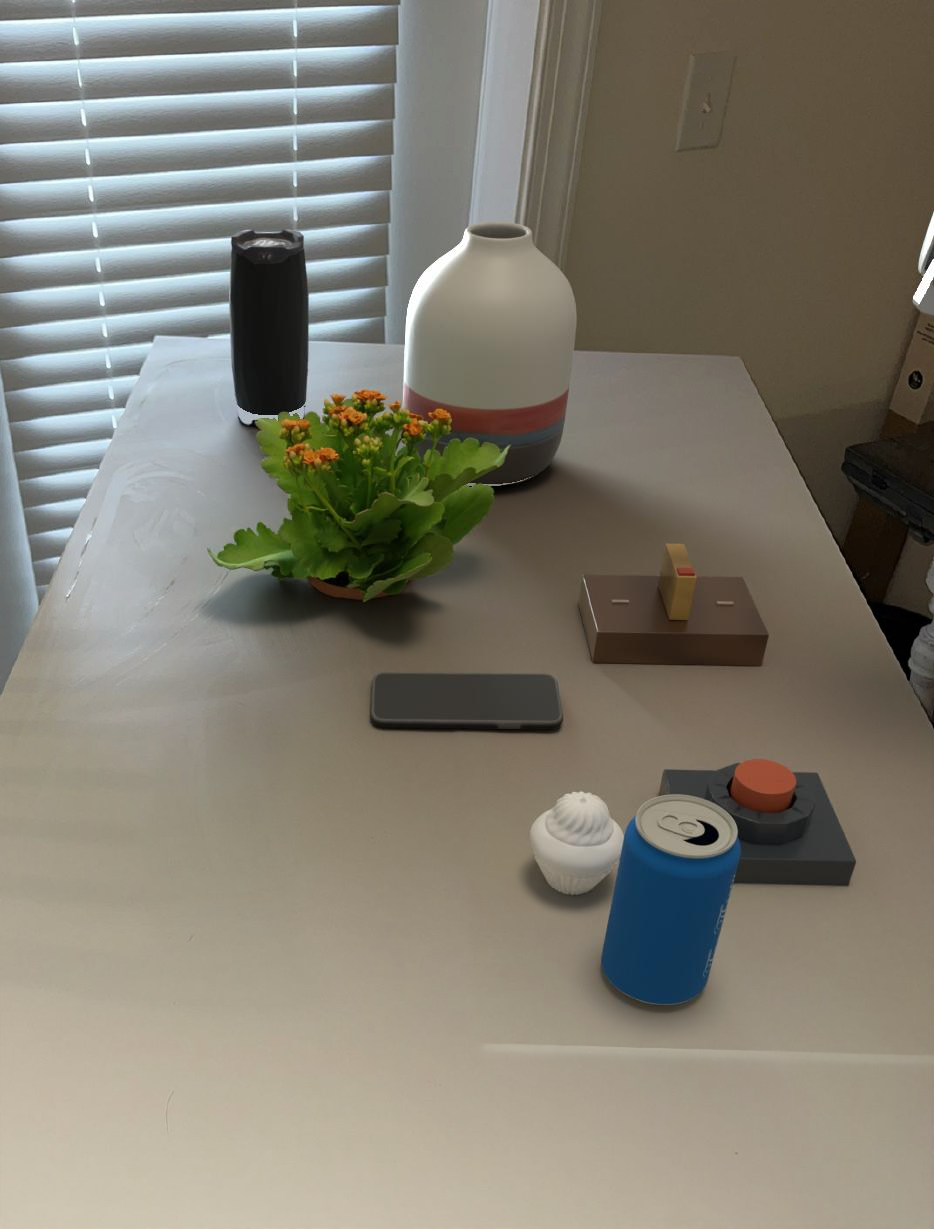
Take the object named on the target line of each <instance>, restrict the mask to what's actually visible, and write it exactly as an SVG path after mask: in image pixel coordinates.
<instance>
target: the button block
mask: <svg viewBox="0 0 934 1229" xmlns="http://www.w3.org/2000/svg"><path fill="white" fill-rule="evenodd" d="M741 763H742V762H735V763H732V764H730V765H727V766H724V767H721V768H718V769H715V770H714V769H713V770H712V769H711V770H710V769H709V770H708V769H671V768H669V769H668V768H667V769H665V768H664V769H663V770H662V776H661V781H660V785H659V790H658V796H663V795H671V794H679V795H689V796H694V797H698V798H702V799H705V800H707V801H710V802H712V803H714V804H716V805H718V806H719V807H721V808H722V809H724V810H725V811H726V812H727V813H729V815H730V816H731V817H732V818H733V820H734V821H735V823H736V825H737V830H738V834H737V837H738V839H739V842H740V847H741V854H740V859H739V862H738V866H737V870H736V874H735V878H734V882H733V884H755V885H756V884H759V885H760V884H761V885H797V886H800V885H803V886H841V887H842V886H843V887H844V886H846V887H848V886H849V885H850V882H851V879H852V876H853V873H854V870H855V867H856V864H857V859H856V857H855V855H854V852H853V850H852V848H851V845H850V844H849V841H848V838H847V836H846V834H845V832H844V830H843V827H842V825H841V823H840V821H839V818H838V815H837V813H836V812H835V809H834V807H833V804H832V803H831V800H830V797H829V796H828V793H827V791H826V788H825V787H824V784H823V782H822V779H821V777H820V775H819V773H818V772H816V771H815V772H813V771H810V772H807V771H804V772H803V771H792V772H793V774H794V775H795V778H796V786H795V789H794V793H793V796H792V800H791V803H790V806H789V807H788V808H787V809H786V810H784V811H782V812H779V813H760V812H756V811H753V810H750V809H747V808H744V807H742V806H740V805H739V804H738V803H737V802H735V801H734V800H733V799H732V797H731V794H730V790H731V786H732V782H733V777H734V773H735V769H736V767H737V766H738V765H739V764H741Z"/></svg>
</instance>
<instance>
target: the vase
mask: <svg viewBox="0 0 934 1229" xmlns="http://www.w3.org/2000/svg"><path fill="white" fill-rule="evenodd" d="M406 313H407V314H406V321H405V322H406V323H405V339H404V340H405V341H404V358H403V359H404V361H403V384H402V385H403V386H402V387H403V388H402V409H403V408H406V410H409V413H413V414H417V415H421V416H422V417H423V418H424V419H423V421H427V422H428V424H430V423H431V422H432V421H434V419H433V418H431V417H429V415H428V413H429V412H430V413H433V412H435V410H436V409H443V411H447V412H446V413H450V416H451V419H452V422H451V423H450V428H451V430H450V431H449V432H450V434H444V435H442V437H441V438H440V439H439V440H438V441H437V443H436V447H435V450H437V451H438V452H439V453H440V455H441V457H442V456H443V451H444V449H445V447H446V446H447V447H448V444H449V442H450V441H451V440H452V439H459V440H460V442H461V444H462V443H463V442H464V440H465V439H467V438H474V439H477V440H478V441H479V447H481V446H482V444H484V443H485V442H488V443H492V444H495V445H496V446H497V447H498V448H499V450H500V449H502V452H503V451H504V450H505V448H506V447H507V446H508V445H511V446H510V448H509V449H508V453H507V455H506V457H505V460H504V463H503V465H502V466H500V467H498V468H496V469H494V470H492V471H490V472H488V473H486V474H484V475H482V476H481V477H479V478H477V479H475V480H473V481H471V482H469V483H476V484H480V483H481V484H503V483H512V482H517V481H520V480H524V479H526V478H529V477H532V476H534V477H536V476H537V475H536V474H538V473H539V472H541V471H542V470H543V471H545V470H546V469H547V467H548V466H549V465H550V464H551V463H552V461H553V459H554V457H555V455H556V454H557V453H558V450H559V448H560V445H561V441H562V438H563V433H564V428H565V420H566V415H567V406H568V399H569V392H570V384H571V376H572V369H573V368H572V367H573V360H574V352H575V343H576V335H577V323H578V320H577V319H578V313H577V304H576V299H575V295H574V292H573V288H572V286H571V283H570V282H569V280H568V278H567V277H566V275H565V274H564V273H563V272H562V270H561V269H560V268H559V267H558V266H557V265H556V264H555V263H554V262H553V261H552V260H550V259H549V258H548V257H547V256H546V255H545V254H544V253H542V252H541V251H540V250H539V249H538V248H537V247H536V245H535V244H534V240H533V231H532V230H531V228H529V227H528V226H526V225H523V224H519V223H516V222H515V223H514V222H509V221H483V222H477V223H474V224H471V225H469V226H467V227H466V228H465V231H464V234H463V238H462V240H461V242H460V243H459V244H458V245H457V246H455V247H454V248H453V249H452V250H450V251H448V252H447V253H446V254H444V255H443V256H441V257H439V258H438V259H437V260H436V261H435V262H434V263H432V264H431V265H430V266H429V267H428V268H427V269H425V271H424V272H423V273H422V275H421V276H420V277H419V279H418V281H417V282H416V284H415V286H414V288H413V290H412V294H411V297H410V299H409V303H408V307H407V312H406ZM425 433H426V432H424V433H423V434H425ZM429 435H430V433H426V437H425V439H426V440H424V441H422V442H420V443H417V444H416V445H415V446H414V449H416V448H417V447H419V450H418V451H417V452H418V455H419V457H420V458H421V464H422V462H423V461H422V460H423V457H424V455H425V453H426V451H427V450H428V449H430V450H431V449H432V446H433V443H434V441H433V440H431V438H430V437H429ZM438 435H439V433H438ZM435 436H436V435H435ZM437 438H438V437H437ZM405 446H407V444H405ZM502 452H501V453H502ZM543 471H542V472H543ZM542 472H541V473H542ZM539 474H540V473H539ZM539 474H538V475H539ZM535 475H536V476H535Z"/></svg>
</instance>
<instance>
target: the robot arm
mask: <svg viewBox="0 0 934 1229" xmlns="http://www.w3.org/2000/svg"><path fill="white" fill-rule="evenodd" d="M917 266H918V267H917V269H918V272H919V274H920V275H921V276H922V277H923V278H922V279H921V280H922V281H921V282H920V284H919V286H918V288H917V290H916V292H915V293H914V295H913V298H912V305H913V306H914V307H915V308H916V309H917V310H918V311H919V312H921V313H922V314H925V315H929V316H932V317H934V212H932V216H931V219H930V222H929V224H928V227H927V230H926V235H925V237H924V240H923V244H922V247H921V250H920V254H919V258H918V264H917Z"/></svg>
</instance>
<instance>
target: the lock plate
mask: <svg viewBox="0 0 934 1229" xmlns="http://www.w3.org/2000/svg"><path fill="white" fill-rule="evenodd" d="M581 577H582V578H581V582H580V583H581V584H580V590H579V598H578V607H579V611H580V617H581V620H582V624H583V628H584V633H585V636H586V640H587V645H588V649H589V654H590V657H591V662H592V663H594V664H596V663H597V664H599V663H600V664H643V665H647V664H648V665H694V666H695V665H696V666H697V665H698V666H699V665H700V666H702V665H703V666H748V667H749V666H756V667H757V666H758V667H761V666H762V665H763V661H764V657H765V653H766V648H767V645H768V640H769V638H770V637H769V636H770V633H769V632H768V630H767V628H766V625H765V623H764V621H763V618H762V616H761V614H760V612H759V609H758V607H757V605H756V603H755V600H754V598H753V596H752V594H751V592H750V590H749V588H748V585H747V584H746V581H745V579H744V577H743V576H701V575H700V576H699V575H698V576H697V575H696V577H697V579H696V584H695V589H694V594H693V599H692V604H691V609H690V614H689V619H688V620H669V618H668V615H667V612H666V608H665V605H664V602H663V599H662V596H661V593H660V590H659V587H658V582H659V577H660V575H638V574H582V576H581Z"/></svg>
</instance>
